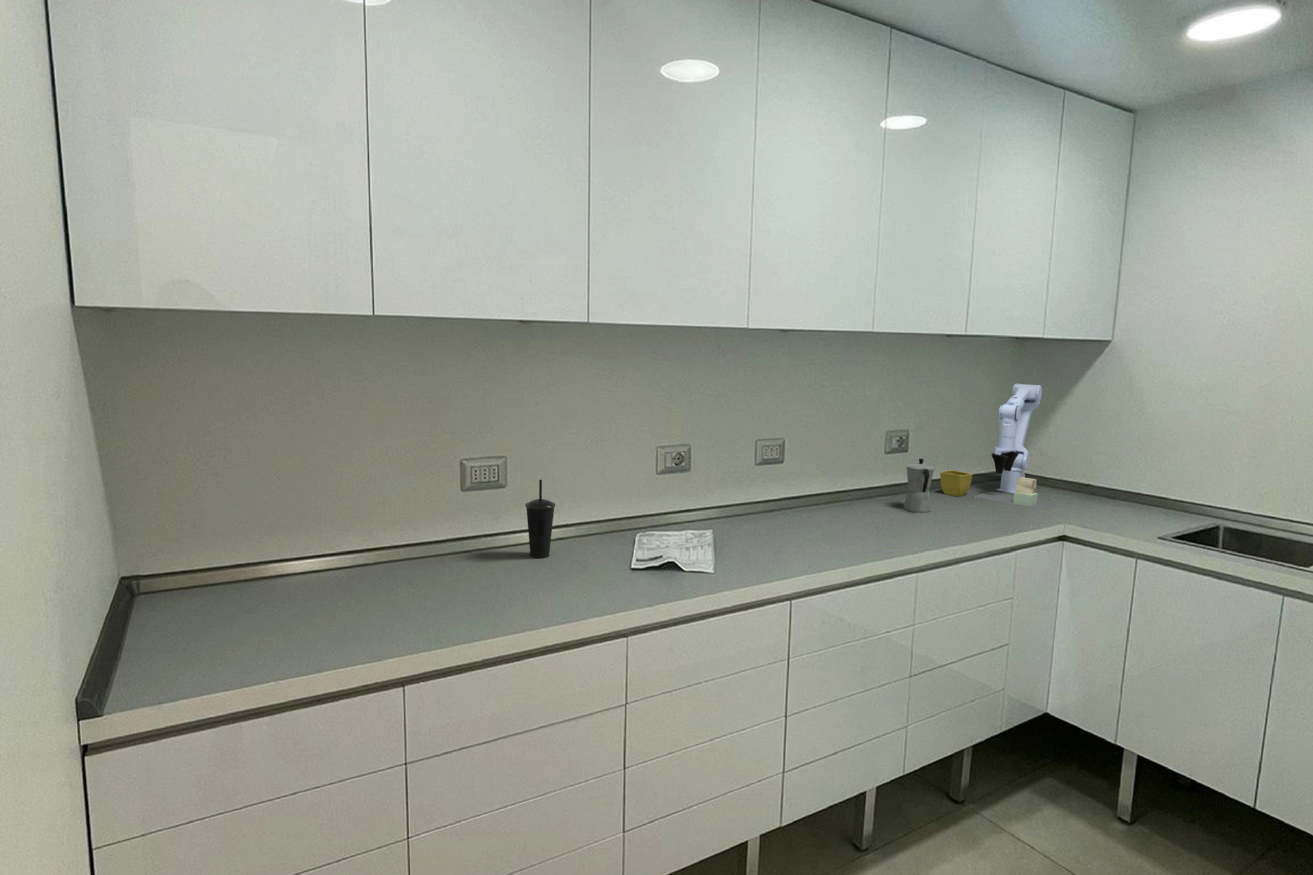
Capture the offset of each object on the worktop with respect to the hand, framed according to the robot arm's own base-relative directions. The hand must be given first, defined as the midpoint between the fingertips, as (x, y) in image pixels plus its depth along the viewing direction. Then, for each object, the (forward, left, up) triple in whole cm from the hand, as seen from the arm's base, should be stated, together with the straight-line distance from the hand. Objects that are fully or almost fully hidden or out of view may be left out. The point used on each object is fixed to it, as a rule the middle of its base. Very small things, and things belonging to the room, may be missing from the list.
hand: (1003, 471), depth 274 cm
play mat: (+3, +6, -10) cm, 12 cm away
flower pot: (+13, -12, -10) cm, 20 cm away
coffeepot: (+47, -9, -10) cm, 49 cm away
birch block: (+6, +11, -5) cm, 13 cm away
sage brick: (+6, +11, -9) cm, 16 cm away
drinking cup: (+179, -44, -10) cm, 185 cm away
